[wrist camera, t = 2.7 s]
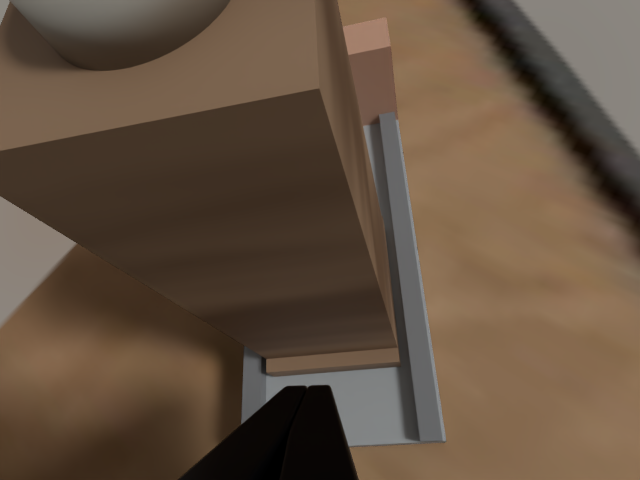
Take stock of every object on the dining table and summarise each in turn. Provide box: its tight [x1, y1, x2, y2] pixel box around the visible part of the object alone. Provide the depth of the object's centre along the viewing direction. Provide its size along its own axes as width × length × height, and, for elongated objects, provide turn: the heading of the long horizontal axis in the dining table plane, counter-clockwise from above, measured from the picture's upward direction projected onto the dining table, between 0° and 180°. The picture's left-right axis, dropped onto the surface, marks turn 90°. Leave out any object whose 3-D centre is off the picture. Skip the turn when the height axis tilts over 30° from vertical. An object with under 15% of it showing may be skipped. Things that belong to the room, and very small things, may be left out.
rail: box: [241, 17, 446, 447], centre depth 15 cm, size 13×6×5 cm, turn 2°
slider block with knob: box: [0, 0, 401, 377], centre depth 10 cm, size 5×4×12 cm
